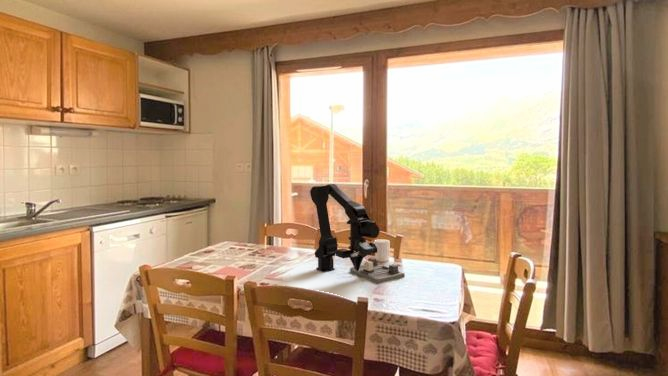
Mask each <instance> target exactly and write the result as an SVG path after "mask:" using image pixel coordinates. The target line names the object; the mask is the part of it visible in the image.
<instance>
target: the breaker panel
mask: <svg viewBox="0 0 668 376" xmlns="http://www.w3.org/2000/svg"><path fill="white" fill-rule="evenodd" d="M367 261H371V262H373V270H374V273H370V274H369V272H366V271H363V269H364V264H361V265H360V268H359V271H356V270H355V268H354V266H351V267H350V269H349V273H351V274H354V275H356V276H359V277H362V278H364V279H366V280H369V281H372V282H375V283H377V284H380V283H384V282H389V281H394V280H397V279H401V278H405V272H401V271H399V266H398V265H396V264H389V265H388V266H387V265H386V266H385V265H380V264H378V261H377V259H375V257H368V259H367Z"/></svg>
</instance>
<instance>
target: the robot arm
mask: <svg viewBox="0 0 668 376" xmlns="http://www.w3.org/2000/svg"><path fill="white" fill-rule="evenodd" d="M309 190H310V191H309V195H310V198H311V201H312V203H314V205H315V207H316V213H317V219H318V226H319V232H320V237H319V240H318V248H317V249H316V250H315V252H314V257H315V258H317V267H316V269H317V270H318V271H321V272H330V271H335V268H334V258H333V257H337V258H341V259H348V258H349V259H350V262H351V263H352V265H353V266H352V267H354V268H355V270H356V271H359V268H360V266H361V265H362V263H363V259H364V258H366V257H368V256H369V255H370V256H371V255H372V254H375V253H377V247H376V246H375V243H374V241H371V242H367V239H366V238H371V239H376V238H377V239H378V236H379V234H380V228H379V226H378V225H377V221H374V220H373V221H372V220H371V218H370V216H369V215H368V213H367V211H366V210H367V209H366V207H365V206H363V204H360V203H359V202H356V201H353V200H352V199H351V198H350V197H348V196H347V194H346V193H344V192H343V191H342V190H341V188H339V187H338V185H337V184H336V183H332V184H331V183H329V184H326V185H316V186H315V185H313V186H312V187H311V188H310V189H309ZM329 196H330V197H332V198H333V199H334V200H335V202H337V203H338V204H339V206H341V207H342V208H343V209H344V213H345V215H346V216H347V217H348V220H347V222H346V225H349V229H350V230H349V233H350V234H349V235H350V236H348V240H350V241H349V242H350V243H349V246H348V249H346V248H339V249H338V246H339V244H338V239H337V237H334V236H333V234H332V231H331V222H330V217H329V212H328V206H327V205H328V202H329V199H330V197H329Z"/></svg>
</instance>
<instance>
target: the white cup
mask: <svg viewBox="0 0 668 376" xmlns="http://www.w3.org/2000/svg"><path fill="white" fill-rule="evenodd" d="M373 242H374V243H375V246H376V247H377V253H374V255H375V257H374V258H375V259H377V262H384V263H385V262H388V261H389V260H390V249H391V248H390V246H391V245H390V243H391V241H390V240H389V239H386V238H385V239H384V238H380V239H379V238H377V239H375V240H374V241H373Z"/></svg>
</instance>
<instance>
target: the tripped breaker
mask: <svg viewBox="0 0 668 376" xmlns="http://www.w3.org/2000/svg"><path fill="white" fill-rule="evenodd" d="M363 263H364V264H363V265H364V269H363V271H366V272H369V274H370V273H374V270H373V262H371V261H368V260H365V261H364V262H363Z"/></svg>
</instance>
